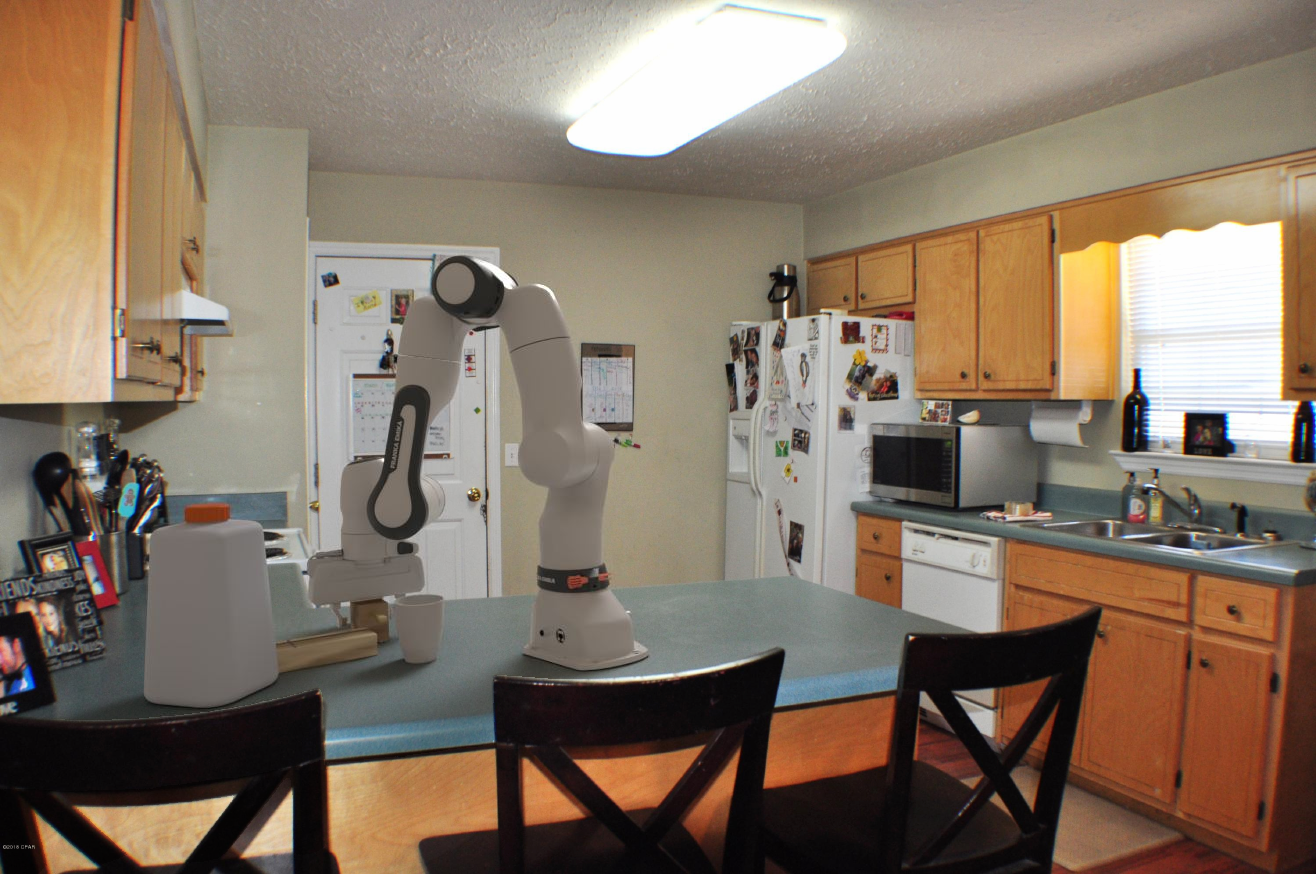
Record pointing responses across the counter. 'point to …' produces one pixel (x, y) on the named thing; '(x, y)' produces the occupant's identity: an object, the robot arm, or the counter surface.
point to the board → (325, 649)
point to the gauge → (371, 616)
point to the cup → (420, 626)
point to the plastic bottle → (208, 611)
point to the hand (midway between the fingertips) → (368, 622)
